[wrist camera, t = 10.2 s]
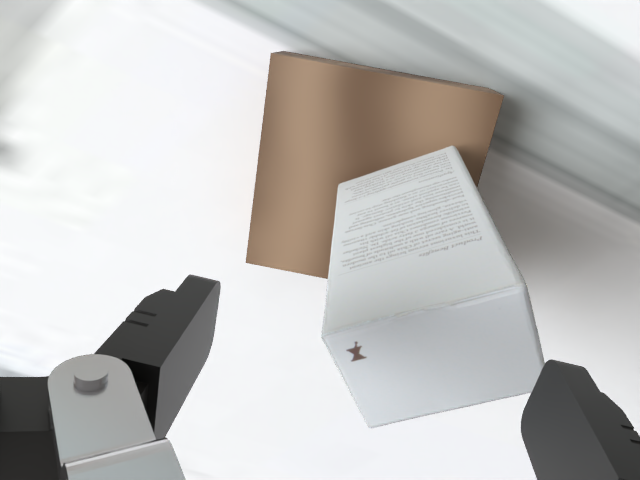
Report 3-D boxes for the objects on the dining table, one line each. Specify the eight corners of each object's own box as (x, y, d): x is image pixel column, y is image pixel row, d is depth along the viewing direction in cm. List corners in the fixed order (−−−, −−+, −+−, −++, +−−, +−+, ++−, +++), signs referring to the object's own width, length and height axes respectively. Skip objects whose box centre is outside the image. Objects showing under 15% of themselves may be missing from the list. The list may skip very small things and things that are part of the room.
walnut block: (487, 87, 27) (503, 95, 24) (435, 270, 32) (443, 301, 28) (285, 50, 28) (271, 53, 24) (260, 236, 32) (245, 262, 28)
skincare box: (365, 252, 27) (362, 433, 17) (336, 181, 26) (313, 335, 15) (479, 218, 26) (555, 394, 15) (457, 140, 24) (526, 279, 14)
